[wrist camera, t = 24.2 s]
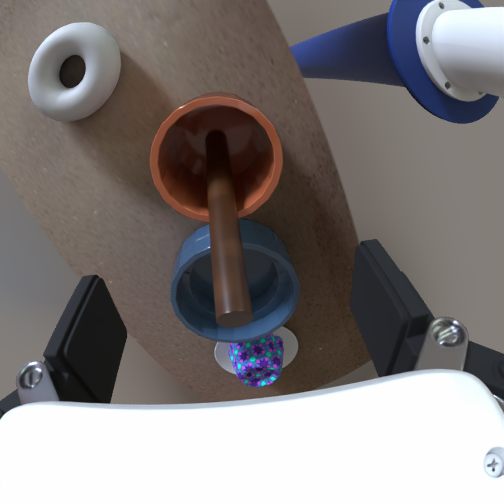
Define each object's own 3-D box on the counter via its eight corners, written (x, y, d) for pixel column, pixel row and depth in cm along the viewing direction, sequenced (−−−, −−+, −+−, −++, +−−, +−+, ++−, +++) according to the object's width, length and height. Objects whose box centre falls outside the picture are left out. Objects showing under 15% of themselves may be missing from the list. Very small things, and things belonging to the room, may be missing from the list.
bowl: (287, 209, 33) (298, 233, 28) (291, 303, 40) (300, 333, 35) (164, 226, 33) (155, 253, 28) (190, 317, 40) (187, 348, 35)
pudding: (250, 381, 48) (253, 408, 44) (197, 347, 43) (195, 376, 38) (312, 347, 45) (320, 374, 41) (264, 304, 40) (269, 334, 35)
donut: (129, 17, 21) (40, 35, 20) (118, 11, 18) (23, 33, 17) (124, 114, 26) (39, 124, 25) (114, 119, 23) (23, 131, 22)
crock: (260, 86, 26) (276, 89, 18) (269, 176, 31) (286, 214, 23) (162, 101, 26) (138, 111, 18) (179, 189, 31) (165, 231, 23)
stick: (229, 133, 27) (258, 311, 16) (223, 150, 29) (247, 328, 18) (207, 129, 27) (220, 310, 16) (203, 147, 28) (212, 327, 17)
